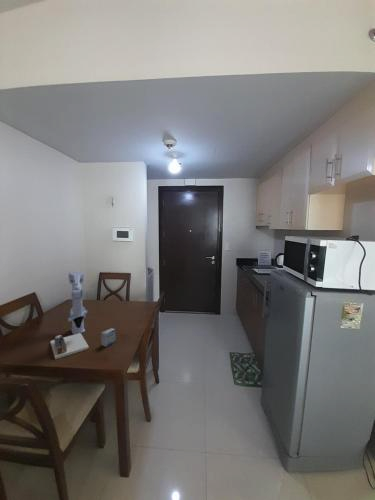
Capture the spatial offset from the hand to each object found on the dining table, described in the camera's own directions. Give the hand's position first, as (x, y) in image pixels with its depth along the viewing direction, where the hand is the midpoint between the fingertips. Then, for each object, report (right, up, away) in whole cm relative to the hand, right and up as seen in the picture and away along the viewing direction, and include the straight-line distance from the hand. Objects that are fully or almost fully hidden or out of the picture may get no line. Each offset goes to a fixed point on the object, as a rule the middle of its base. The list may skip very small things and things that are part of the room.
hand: (78, 327), depth 143 cm
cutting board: (-3, -10, -6) cm, 12 cm away
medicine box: (+21, -10, -2) cm, 23 cm away
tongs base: (-7, -9, -10) cm, 14 cm away
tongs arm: (-6, -8, -9) cm, 14 cm away
